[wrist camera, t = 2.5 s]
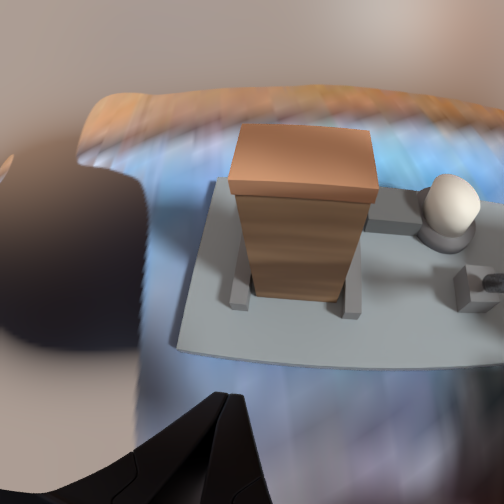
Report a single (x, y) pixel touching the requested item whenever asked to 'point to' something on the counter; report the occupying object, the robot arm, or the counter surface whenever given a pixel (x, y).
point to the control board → (362, 290)
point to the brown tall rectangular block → (302, 205)
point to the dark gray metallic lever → (493, 283)
